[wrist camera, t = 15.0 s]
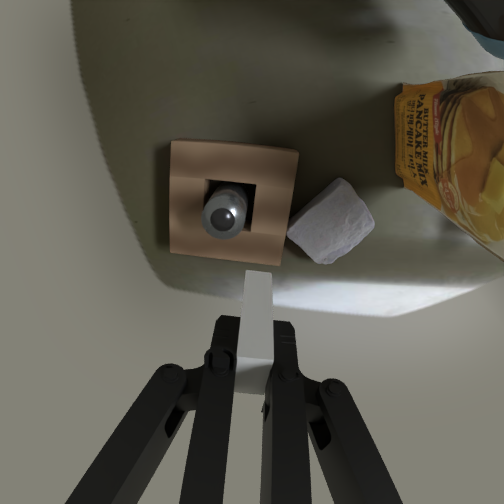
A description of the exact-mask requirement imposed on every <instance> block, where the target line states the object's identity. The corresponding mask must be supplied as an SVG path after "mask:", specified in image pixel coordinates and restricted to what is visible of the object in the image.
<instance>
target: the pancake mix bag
mask: <svg viewBox="0 0 504 504" xmlns="http://www.w3.org/2000/svg"><path fill="white" fill-rule="evenodd" d="M394 120H395V174H396V175H398V176H399V177H401V178H402V179H403V183H404V189H408V190H412V191H413V192H414V193H416V194H417V195H418V196H419V197H421V198H422V199H423V200H425V201H426V202H427V203H428V204H430V205H431V206H433V207H434V208H436V209H437V210H438V211H440V212H441V213H442V214H443V215H444V216H445V217H447V218H448V219H449V220H450V221H452V222H453V223H454V224H455V225H456V226H457V227H459V228H460V229H461V230H462V231H464V232H465V233H467V234H468V235H470V236H471V237H472V238H473V239H474V240H475V241H476V242H477V243H478V244H480V245H481V246H482V247H484V248H485V249H486V250H488V251H489V252H491V253H492V254H493V255H495V256H496V257H498V258H499V259H500V260H502V261H503V262H504V71H489V72H482V73H474V74H468V75H463V76H459V77H456V78H453V79H445V80H439V81H433V82H430V83H427V84H420V85H412V84H407V83H404V82H403V89H402V93H400V94H399V95H397V96H396V97H395V102H394Z"/></svg>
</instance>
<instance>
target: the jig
mask: <svg viewBox="0 0 504 504" xmlns="http://www.w3.org/2000/svg"><path fill="white" fill-rule="evenodd" d="M298 159H299V152H298V151H297V150H296V149H289V148H282V147H275V146H268V145H260V144H251V143H242V142H231V141H220V140H206V139H187V138H179V139H176V140H173V141H171V158H170V194H169V226H170V253H177V254H185V255H193V256H201V257H209V258H217V259H226V260H234V261H242V262H251V263H259V264H267V265H276V266H280V263H281V257H282V252H283V247H284V241H285V236H286V230H287V225H288V219H289V213H290V207H291V201H292V196H293V190H294V184H295V177H296V171H297V165H298ZM210 179H211V180H222V181H232V182H241V183H250V184H256V192H255V201H254V209H253V217H252V221H248V220H245V223H244V227H243V229H242V231H241V232H240V233H239V234H238V235H237V236H235V237H233V238H231V239H226V240H222V239H217V238H214V237H212V236H211V235H209V234H208V233H207V232H206V231H205V229H204V228H203V225H202V222H201V214H202V211H203V209H204V207H205V206H206V204H207V202H208V201H209V187H210Z"/></svg>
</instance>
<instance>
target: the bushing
mask: <svg viewBox="0 0 504 504" xmlns="http://www.w3.org/2000/svg"><path fill="white" fill-rule="evenodd" d="M248 201H249V194H248V190H247V189H246V187H245V186H244V185H243V184H242V183H240V182H232V181H224V182H222V183H221V184H220V185H218V187H217V188H216V190H215V191H214V193H213V194H212V196H211V198H210V199H209V201H208V202H207V204H206V206H205V207H204V209H203V211H202V214H201V222H202V225H203V228H204V229H205V231H206V232H207V233H208V234H209V235H211V236H212V237H214V238H217V239H222V240H226V239H231V238H233V237H235V236H237V235H238V234H239V233H240V232H241V231H242V229H243V227H244V223H245V217H246V212H247V206H248Z"/></svg>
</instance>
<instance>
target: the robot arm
mask: <svg viewBox="0 0 504 504" xmlns="http://www.w3.org/2000/svg"><path fill="white" fill-rule="evenodd" d="M444 1H445V2H446V3H447V4H448V6H449V7H450V8H451V9H452V10H453V11H454V12H455V14H456V15H457V16H458V17H459V18H460V20H461V21H462V23H463V25H464V26H465V28H466V29H467V30H468V31H470V32H471V33H472V34H473V36H474V37H475V38H476V40H477V41H478V42H479V43H480V45H481V46H482V47H483V48H484V49H485V50H486V51H487V52H489V53H490V54H492V55H493V56H495V57H498V58H500V59H504V0H444ZM234 392H239V393H249V394H260V395H264V393H265V401H264V404H263V408H262V411H261V412H263V436H262V466H261V493H260V504H312V499H311V478H310V460H309V446H308V433H309V436H310V439H311V441H312V444H313V447H314V450H315V452H316V455H317V458H318V461H319V463H320V466H321V469H322V471H323V474H324V477H325V480H326V482H327V485H328V488H329V490H330V493H331V496H332V498H333V501H334V504H403V503H402V501H401V499H400V496H399V494H398V492H397V490H396V488H395V485H394V483H393V481H392V479H391V477H390V475H389V472H388V470H387V468H386V466H385V464H384V462H383V460H382V458H381V455H380V453H379V452H378V449H377V447H376V445H375V443H374V441H373V439H372V437H371V435H370V433H369V431H368V429H367V427H366V424H365V422H364V420H363V418H362V416H361V414H360V412H359V410H358V408H357V406H356V404H355V402H354V400H353V398H352V396H351V394H350V392H349V390H348V388H347V386H346V385H345V384H344V383H343V382H341V381H340V380H338V379H326V380H324V381H323V382H322V383H321V382H317V381H314V380H311V379H309V378H307V377H305V376H304V375H303V374H302V373H301V372H300V370H299V367H298V359H297V348H296V340H295V330H294V327H293V326H292V324H291V323H290V322H286V321H276V320H273V299H272V273H268V272H259V271H251V270H246V276H245V284H244V293H243V301H242V310H241V317H234V316H226V315H221V316H220V317H219V318H218V320H216V323H215V329H214V333H213V337H212V342H211V347H210V349H209V350H208V351H206V353H205V355H204V365H202V366H201V367H198V368H194V369H186V370H183V368H182V367H180V366H179V365H176V364H165V365H162V366H161V367H159V368H158V369H157V370H156V372H155V373H154V374H153V376H152V377H151V379H150V380H149V382H148V383H147V385H146V386H145V387H144V389H143V390H142V392H141V393H140V394H139V396H138V398H137V399H136V401H135V402H134V403H133V404H132V406H131V407H130V409H129V410H128V412H127V413H126V415H125V416H124V418H123V419H122V420H121V422H120V423H119V425H118V426H117V428H116V429H115V430H114V432H113V434H112V435H111V436H110V438H109V439H108V441H107V442H106V444H105V445H104V446H103V448H102V450H101V451H100V452H99V454H98V455H97V457H96V458H95V460H94V461H93V463H92V464H91V466H90V467H89V468H88V470H87V471H86V473H85V474H84V476H83V477H82V479H81V480H80V482H79V483H78V485H77V486H76V488H75V489H74V491H73V492H72V494H71V495H70V497H69V498H68V500H67V501H66V503H65V504H137V503H138V501H139V499H140V497H141V496H142V494H143V492H144V490H145V489H146V487H147V485H148V483H149V482H150V480H151V478H152V476H153V475H154V473H155V471H156V469H157V468H158V466H159V464H160V462H161V460H162V459H163V457H164V455H165V453H166V451H167V450H168V448H169V446H170V444H171V442H172V440H173V439H174V437H175V435H176V433H177V431H178V430H179V428H180V426H181V424H182V422H183V420H184V419H185V417H186V415H187V413H188V411H190V410H196V413H195V418H194V423H193V428H192V434H191V439H190V444H189V450H188V456H187V461H186V466H185V472H184V478H183V484H182V489H181V495H180V501H179V504H223V494H224V483H225V473H226V463H227V453H228V443H229V434H230V424H231V413H232V404H233V394H234Z"/></svg>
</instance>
